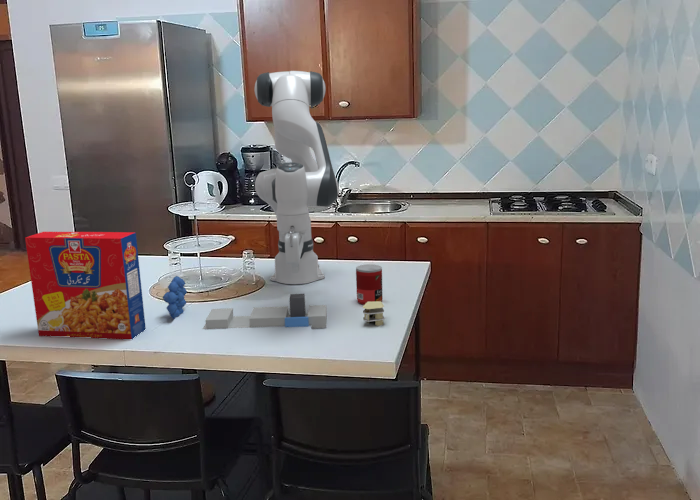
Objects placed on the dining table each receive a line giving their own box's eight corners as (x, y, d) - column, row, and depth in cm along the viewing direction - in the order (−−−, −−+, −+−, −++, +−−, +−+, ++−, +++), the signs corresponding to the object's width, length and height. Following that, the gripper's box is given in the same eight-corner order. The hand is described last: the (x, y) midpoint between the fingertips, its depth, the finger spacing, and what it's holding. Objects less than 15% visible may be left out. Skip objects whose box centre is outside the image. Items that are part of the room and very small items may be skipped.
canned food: (380, 305, 209) (379, 270, 207) (354, 305, 211) (353, 270, 208) (384, 298, 216) (383, 264, 214) (359, 297, 218) (358, 263, 215)
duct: (209, 320, 200) (208, 309, 200) (326, 316, 201) (326, 305, 200) (202, 333, 190) (201, 321, 189) (326, 329, 190) (325, 316, 189)
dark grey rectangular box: (291, 317, 198) (290, 294, 196) (305, 317, 198) (304, 293, 196) (290, 322, 194) (289, 298, 192) (305, 321, 194) (303, 297, 192)
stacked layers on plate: (357, 318, 199) (357, 300, 198) (389, 317, 199) (388, 299, 198) (357, 330, 189) (357, 311, 188) (390, 329, 189) (390, 310, 188)
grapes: (171, 310, 211) (167, 272, 209) (192, 310, 211) (189, 272, 208) (156, 322, 200) (153, 282, 197) (179, 323, 199) (175, 282, 197)
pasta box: (38, 336, 192) (25, 237, 186) (56, 326, 200) (43, 231, 194) (131, 339, 187) (120, 238, 180) (145, 329, 194) (135, 232, 188)
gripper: (302, 230, 179) (305, 281, 182) (306, 216, 199) (308, 262, 202) (278, 230, 179) (281, 282, 182) (284, 217, 199) (287, 263, 202)
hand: (295, 272), depth 192 cm, fingers closed
